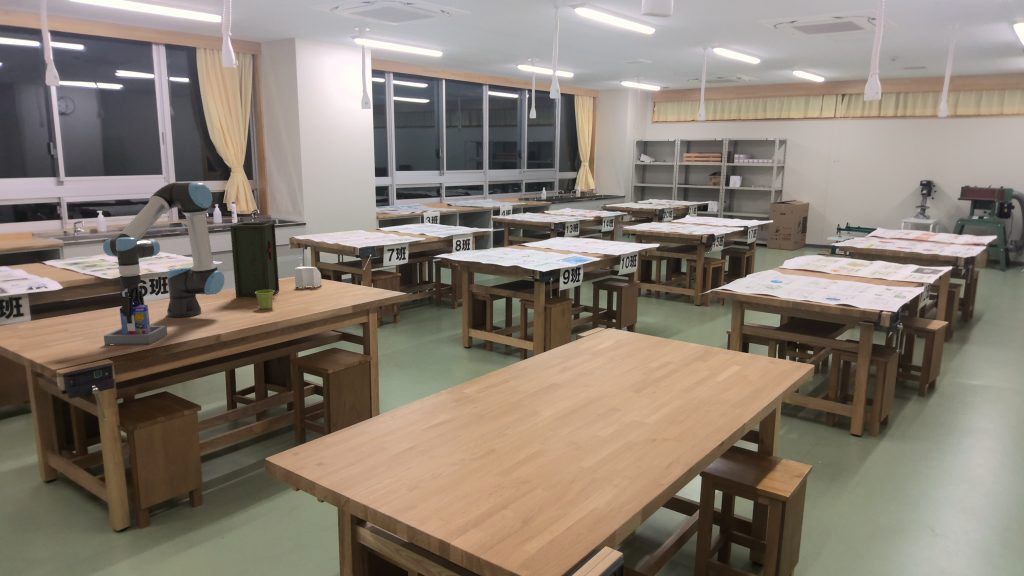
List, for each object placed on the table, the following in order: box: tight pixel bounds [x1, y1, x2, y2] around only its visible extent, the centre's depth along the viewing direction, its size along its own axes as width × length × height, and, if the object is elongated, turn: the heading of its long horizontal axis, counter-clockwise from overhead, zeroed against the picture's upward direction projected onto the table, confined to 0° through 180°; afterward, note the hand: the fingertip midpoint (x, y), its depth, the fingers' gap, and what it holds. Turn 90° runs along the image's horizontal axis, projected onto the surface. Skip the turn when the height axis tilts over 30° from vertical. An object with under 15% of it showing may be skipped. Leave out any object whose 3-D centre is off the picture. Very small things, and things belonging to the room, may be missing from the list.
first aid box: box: [229, 222, 280, 298], centre depth 377 cm, size 18×18×40 cm
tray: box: [103, 325, 168, 346], centre depth 283 cm, size 16×18×4 cm
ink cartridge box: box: [119, 301, 151, 335], centre depth 281 cm, size 10×6×14 cm, turn 109°
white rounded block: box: [293, 266, 322, 288], centre depth 403 cm, size 11×11×12 cm
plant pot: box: [255, 290, 275, 310], centre depth 344 cm, size 9×9×9 cm
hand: (135, 328), depth 282 cm, fingers closed on ink cartridge box, 6 cm apart
